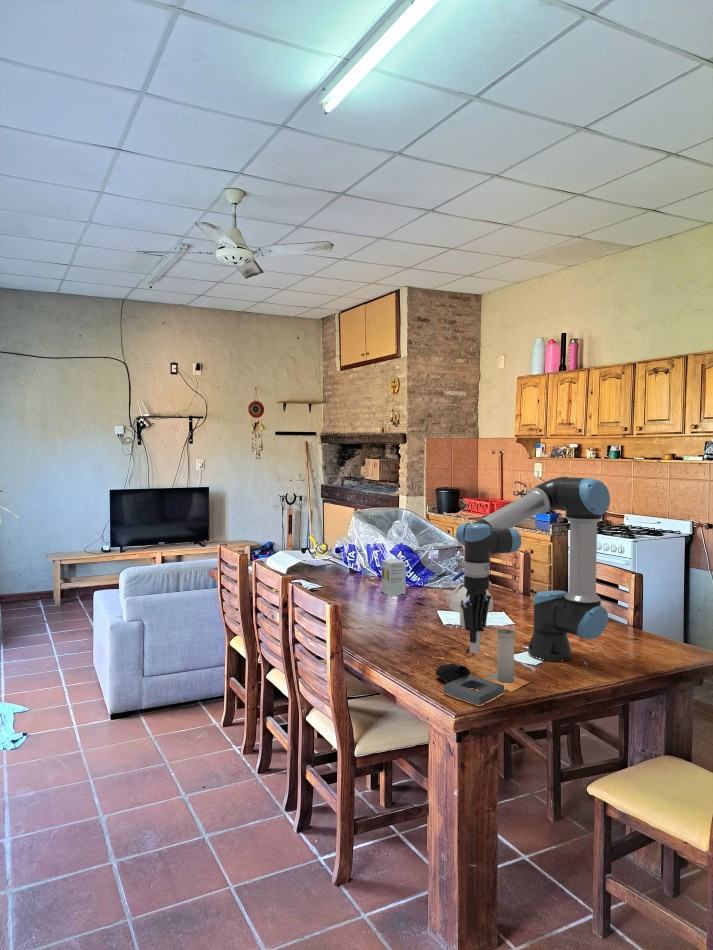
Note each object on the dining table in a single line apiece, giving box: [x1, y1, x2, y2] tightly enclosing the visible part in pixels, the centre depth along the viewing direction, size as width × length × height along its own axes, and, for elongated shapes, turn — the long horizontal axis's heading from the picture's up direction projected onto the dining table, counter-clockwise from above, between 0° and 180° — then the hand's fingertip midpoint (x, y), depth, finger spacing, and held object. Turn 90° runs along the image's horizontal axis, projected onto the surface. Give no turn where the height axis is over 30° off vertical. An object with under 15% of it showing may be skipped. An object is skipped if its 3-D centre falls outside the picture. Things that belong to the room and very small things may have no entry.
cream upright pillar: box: [496, 628, 516, 683], centre depth 206 cm, size 6×6×16 cm
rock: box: [435, 663, 471, 684], centre depth 207 cm, size 9×10×10 cm
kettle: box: [448, 570, 494, 613], centre depth 297 cm, size 20×21×18 cm
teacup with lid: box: [459, 603, 465, 628], centre depth 271 cm, size 12×9×12 cm
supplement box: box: [380, 558, 407, 597], centre depth 324 cm, size 10×9×17 cm
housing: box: [443, 674, 505, 705], centre depth 196 cm, size 13×13×3 cm
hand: (474, 652), depth 196 cm, fingers closed
